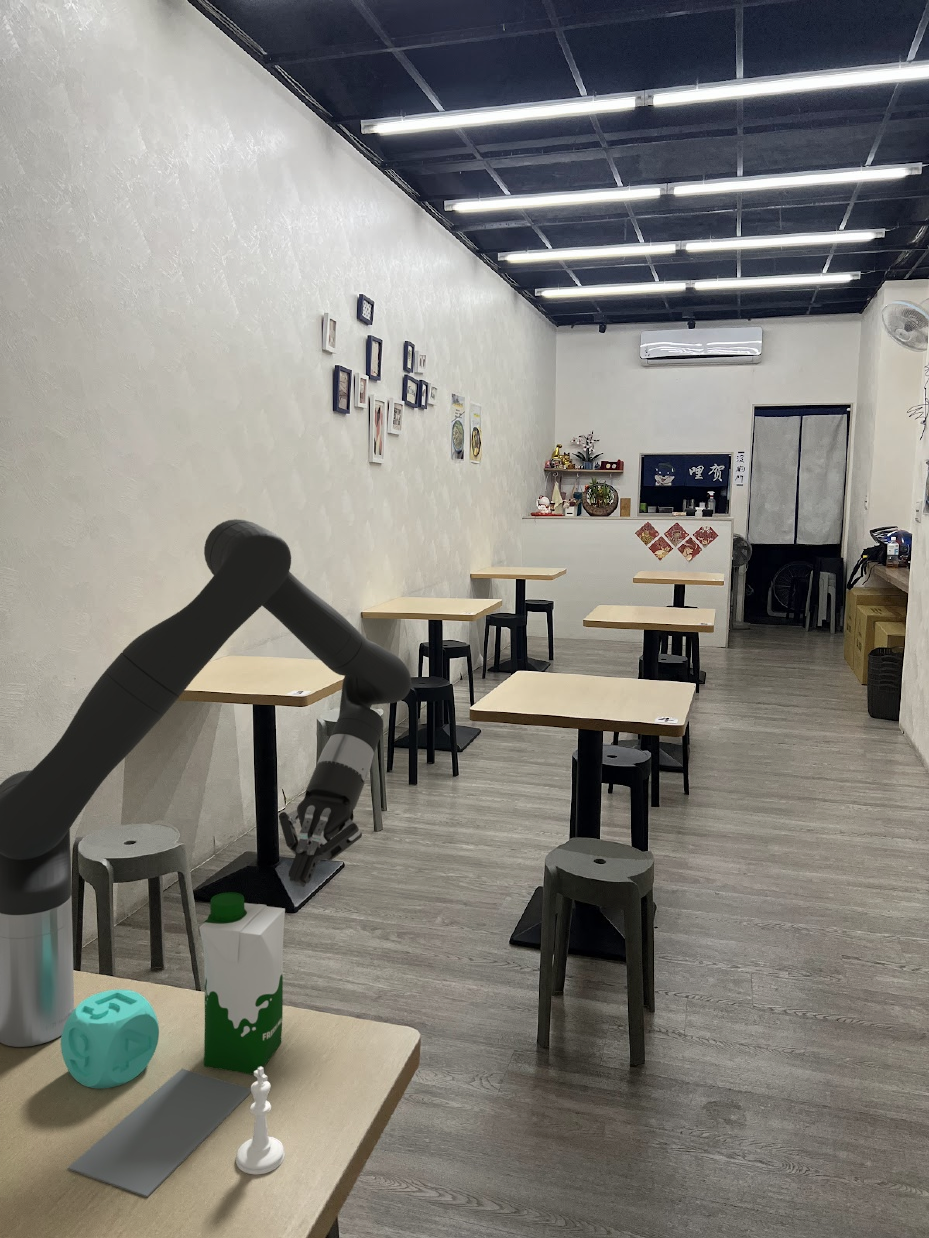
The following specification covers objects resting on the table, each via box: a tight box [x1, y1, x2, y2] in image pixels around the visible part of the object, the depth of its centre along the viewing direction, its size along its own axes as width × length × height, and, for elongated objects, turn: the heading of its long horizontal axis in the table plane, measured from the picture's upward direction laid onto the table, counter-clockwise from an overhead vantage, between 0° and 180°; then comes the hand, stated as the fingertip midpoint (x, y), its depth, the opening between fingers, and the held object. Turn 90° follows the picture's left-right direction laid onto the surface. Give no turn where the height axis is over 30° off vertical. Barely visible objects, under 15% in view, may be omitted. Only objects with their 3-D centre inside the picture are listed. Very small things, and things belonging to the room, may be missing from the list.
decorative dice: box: [60, 989, 160, 1089], centre depth 108 cm, size 8×8×8 cm
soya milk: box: [199, 891, 286, 1076], centre depth 111 cm, size 9×9×20 cm
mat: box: [67, 1068, 252, 1198], centre depth 98 cm, size 10×18×1 cm, turn 159°
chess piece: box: [235, 1067, 285, 1176], centre depth 94 cm, size 5×5×10 cm
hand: (296, 883), depth 122 cm, fingers closed
